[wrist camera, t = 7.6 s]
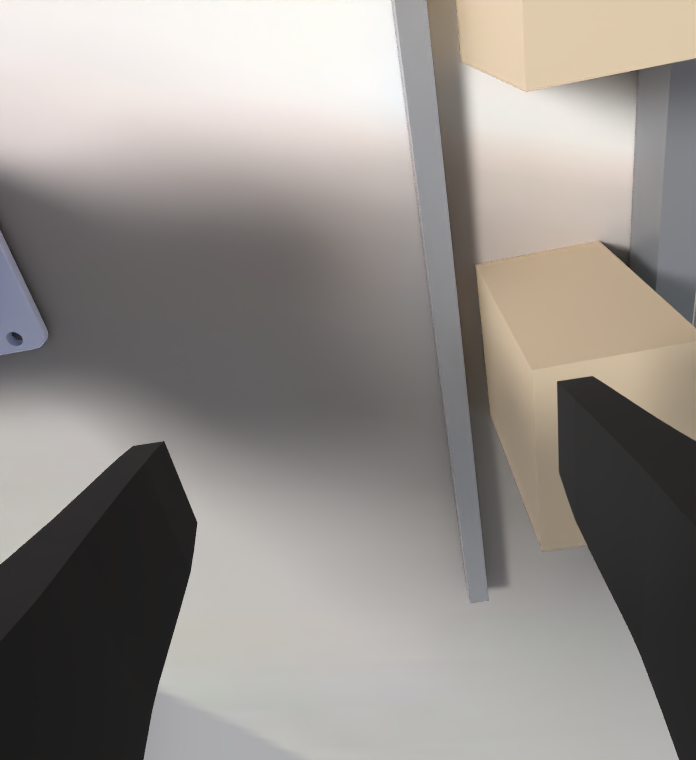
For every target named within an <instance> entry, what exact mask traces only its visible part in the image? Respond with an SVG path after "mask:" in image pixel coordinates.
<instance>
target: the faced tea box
mask: <svg viewBox="0 0 696 760" xmlns="http://www.w3.org/2000/svg"><path fill="white" fill-rule="evenodd" d="M456 10H457V22H458V34H459V46H460V58H461V62H463V63H465V64H467V65H469V66H471V67H473V68H476V69H478V70H480V71H482V72H484V73H486V74H488V75H491V76H493V77H495V78H497V79H499V80H501V81H503V82H506V83H508V84H510V85H512V86H514V87H516V88H518V89H521V90H523V91H525V92H528V91H533V90H538V89H543V88H548V87H553V86H558V85H563V84H568V83H574V82H579V81H584V80H589V79H594V78H599V77H604V76H609V75H614V74H619V73H624V72H629V71H634V70H639V69H644V68H649V67H654V66H659V65H664V64H669V63H674V62H679V61H684V60H689V59H694V58H696V0H456Z"/></svg>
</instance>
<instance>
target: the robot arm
mask: <svg viewBox="0 0 696 760" xmlns="http://www.w3.org/2000/svg"><path fill="white" fill-rule="evenodd" d="M11 332H16V333H18V334H19V335H20V336H21V337H22V339H23V341H19V340H17V339H15V338H14V337H13V336H12V333H11ZM47 339H48V331H47V328H46V326H45V324H44V322H43V320H42V318H41V315H40V313H39V311H38V309H37V307H36V305H35V303H34V301H33V298H32V296H31V294H30V292H29V290H28V288H27V286H26V284H25V282H24V279H23V277H22V275H21V273H20V271H19V269H18V267H17V265H16V262H15V260H14V258H13V256H12V254H11V252H10V250H9V248H8V246H7V243H6V241H5V239H4V237H3V235H2V233H1V231H0V355H5V354H10V353H16V352H21V351H27V350H33V349H37V348H39V347H41V346H42V345H43V344H44V343H45V341H46V340H47ZM557 408H558V457H559V474H560V477H561V480H562V483H563V486H564V489H565V492H566V496H567V499H568V501H569V504H570V507H571V510H572V513H573V516H574V518H575V521H576V523H577V525H578V527H579V529H580V531H581V534H582V536H583V538H584V540H585V542H586V544H587V546H588V548H589V550H590V552H591V554H592V556H593V558H594V560H595V562H596V564H597V566H598V568H599V570H600V572H601V574H602V576H603V578H604V580H605V582H606V584H607V586H608V588H609V590H610V592H611V594H612V596H613V598H614V600H615V602H616V604H617V606H618V608H619V610H620V612H621V614H622V616H623V618H624V620H625V622H626V624H627V626H628V628H629V630H630V632H631V635H632V637H633V639H634V641H635V644H636V646H637V648H638V650H639V653H640V655H641V657H642V660H643V663H644V665H645V668H646V671H647V673H648V676H649V679H650V681H651V684H652V687H653V689H654V692H655V695H656V697H657V700H658V702H659V705H660V708H661V710H662V713H663V716H664V719H665V721H666V724H667V727H668V730H669V733H670V735H671V738H672V741H673V744H674V746H675V749H676V752H677V755H678V758H679V760H696V441H695V440H693V439H691V438H690V437H688V436H686V435H685V434H683V433H681V432H680V431H678V430H676V429H675V428H673V427H671V426H670V425H668V424H666V423H665V422H663V421H662V420H660V419H658V418H657V417H655V416H654V415H652V414H650V413H649V412H647V411H646V410H644V409H643V408H641V407H640V406H638V405H637V404H635V403H633V402H632V401H630V400H629V399H627V398H626V397H624V396H623V395H621V394H620V393H618V392H617V391H615V390H614V389H612V388H611V387H609V386H608V385H606V384H605V383H603V382H602V381H600V380H598V379H597V378H595V377H593V376H589V377H582V378H576V379H569V380H563V381H557ZM196 529H197V521H196V518H195V516H194V513H193V511H192V509H191V506H190V504H189V501H188V499H187V496H186V494H185V491H184V489H183V486H182V484H181V481H180V479H179V477H178V474H177V472H176V469H175V467H174V464H173V462H172V459H171V457H170V454H169V452H168V449H167V447H166V444H165V442H164V441H163V442H156V443H150V444H143V445H137V446H133V447H131V448H130V449H129V450H128V451H126V452H125V453H124V454H123V455H121V456H120V457H119V458H118V459H117V460H116V461H115V462H114V463H112V464H111V465H110V466H109V467H108V468H107V469H106V470H105V471H104V472H103V473H102V474H101V475H100V476H99V477H97V478H96V479H95V480H94V481H93V482H92V483H91V484H90V485H89V486H88V487H87V488H86V489H85V490H84V491H83V492H81V493H80V494H79V495H78V496H77V497H76V498H75V499H74V500H73V501H72V502H71V503H70V504H69V505H68V506H67V507H65V508H64V509H63V510H62V511H61V512H60V513H59V514H58V515H57V516H56V517H55V518H54V519H52V520H51V521H50V522H49V523H48V524H47V525H46V526H44V527H43V528H42V529H41V530H40V531H39V532H38V533H36V534H35V535H34V536H33V537H32V538H31V539H30V540H28V541H27V542H26V543H25V544H24V545H23V546H21V547H20V548H19V549H18V550H17V551H16V552H15V553H13V554H12V555H11V556H10V557H9V558H8V559H6V560H5V561H4V562H3V563H1V564H0V760H143V759H144V753H145V748H146V742H147V736H148V731H149V725H150V719H151V714H152V709H153V705H154V701H155V696H156V693H157V688H158V684H159V681H160V677H161V674H162V670H163V667H164V663H165V660H166V657H167V653H168V650H169V646H170V643H171V639H172V636H173V632H174V629H175V626H176V622H177V619H178V615H179V612H180V608H181V605H182V601H183V597H184V594H185V590H186V587H187V583H188V579H189V576H190V572H191V566H192V559H193V553H194V545H195V537H196Z"/></svg>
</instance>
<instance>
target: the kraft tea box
mask: <svg viewBox="0 0 696 760" xmlns="http://www.w3.org/2000/svg"><path fill="white" fill-rule="evenodd" d="M475 267H476V277H477V287H478V297H479V307H480V318H481V328H482V338H483V348H484V358H485V368H486V378H487V388H488V398H489V408H490V415H491V418H492V420H493V423H494V426H495V428H496V431H497V434H498V436H499V439H500V442H501V444H502V447H503V450H504V452H505V455H506V457H507V460H508V463H509V465H510V468H511V471H512V473H513V476H514V479H515V481H516V484H517V487H518V489H519V492H520V495H521V497H522V500H523V502H524V505H525V508H526V510H527V513H528V516H529V518H530V521H531V524H532V526H533V529H534V532H535V534H536V537H537V539H538V542H539V545H540V547H541V550H542V552H546V551H553V550H559V549H566V548H572V547H579V546H585V545H587V544H586V542H585V540H584V538H583V536H582V534H581V531H580V529H579V527H578V525H577V523H576V521H575V518H574V516H573V513H572V510H571V507H570V504H569V501H568V499H567V496H566V492H565V489H564V486H563V483H562V480H561V477H560V474H559V457H558V408H557V381H563V380H569V379H576V378H582V377H589V376H593V377H595V378H597V379H598V380H600V381H602V382H603V383H605V384H606V385H608V386H609V387H611V388H612V389H614V390H615V391H617V392H618V393H620V394H621V395H623V396H624V397H626V398H627V399H629V400H630V401H632V402H633V403H635V404H637V405H638V406H640V407H641V408H643V409H644V410H646V411H647V412H649V413H650V414H652V415H654V416H655V417H657V418H658V419H660V420H662V421H663V422H665V423H666V424H668V425H670V426H671V427H673V428H675V429H676V430H678V431H680V432H681V433H683V434H685V435H686V436H688V437H690V438H691V439H693V440H695V441H696V328H695V327H694V326H693V325H692V324H691V323H689V322H688V321H687V320H686V319H685V318H684V317H683V316H682V315H681V314H680V313H678V312H677V311H676V310H675V309H674V308H673V307H672V306H671V305H670V304H668V303H667V302H666V301H665V300H664V299H663V298H662V297H661V296H660V295H658V294H657V293H656V292H655V291H654V290H653V289H652V288H651V287H650V286H649V285H647V284H646V283H645V282H644V281H643V280H642V279H641V278H640V277H639V276H637V275H636V274H635V273H634V272H633V271H632V270H631V269H630V268H629V267H628V266H626V265H625V264H624V263H623V262H622V261H621V260H620V259H619V258H618V257H616V256H615V255H614V254H613V253H612V252H611V251H610V250H609V249H608V248H606V247H605V246H604V245H603V244H602V243H601V242H600V241H596V242H590V243H585V244H580V245H575V246H569V247H564V248H559V249H554V250H549V251H543V252H538V253H533V254H528V255H522V256H517V257H512V258H507V259H501V260H496V261H491V262H486V263H480V264H475Z"/></svg>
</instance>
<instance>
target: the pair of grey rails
mask: <svg viewBox="0 0 696 760" xmlns="http://www.w3.org/2000/svg"><path fill="white" fill-rule="evenodd" d="M391 1H392V9H393V17H394V25H395V33H396V40H397V48H398V56H399V64H400V72H401V79H402V87H403V95H404V103H405V111H406V119H407V126H408V134H409V142H410V150H411V158H412V165H413V173H414V181H415V189H416V197H417V205H418V212H419V220H420V228H421V236H422V244H423V251H424V259H425V267H426V275H427V283H428V290H429V298H430V306H431V314H432V322H433V330H434V337H435V345H436V353H437V361H438V369H439V376H440V384H441V392H442V400H443V408H444V415H445V423H446V431H447V439H448V447H449V455H450V462H451V470H452V478H453V486H454V494H455V501H456V509H457V517H458V525H459V533H460V541H461V548H462V556H463V564H464V572H465V580H466V586H467V591H468V595H469V600H470V603H475V602H482V601H489V598H488V588H487V578H486V569H485V559H484V549H483V540H482V530H481V521H480V511H479V501H478V492H477V482H476V472H475V463H474V453H473V443H472V434H471V424H470V415H469V405H468V395H467V386H466V376H465V366H464V357H463V347H462V337H461V328H460V318H459V309H458V299H457V289H456V280H455V270H454V260H453V251H452V241H451V231H450V222H449V212H448V202H447V193H446V183H445V174H444V164H443V154H442V145H441V135H440V125H439V116H438V106H437V96H436V87H435V77H434V68H433V58H432V48H431V39H430V29H429V19H428V10H427V0H391ZM629 268H630V269H631V270H632V271H633V272H634V273H635V274H636V275H637V276H639V277H640V278H641V279H642V280H643V281H644V282H645V283H646V284H647V285H649V286H650V287H651V288H652V289H653V290H654V291H655V292H656V293H657V294H658V295H660V296H661V297H662V298H663V299H664V300H665V301H666V302H667V303H668V304H670V305H671V306H672V307H673V308H674V309H675V310H676V311H677V312H678V313H680V314H681V315H682V316H683V317H684V318H685V319H686V320H687V321H688V322H689V323H691V324H692V325H693V326H694V317H695V307H696V58H694V59H689V60H684V61H679V62H674V63H669V64H664V65H659V66H654V67H649V68H644V69H639V70H638V84H637V106H636V129H635V152H634V174H633V197H632V220H631V242H630V265H629Z"/></svg>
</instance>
